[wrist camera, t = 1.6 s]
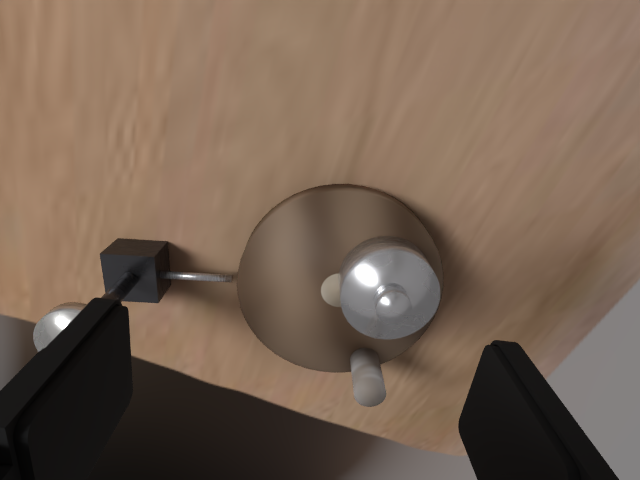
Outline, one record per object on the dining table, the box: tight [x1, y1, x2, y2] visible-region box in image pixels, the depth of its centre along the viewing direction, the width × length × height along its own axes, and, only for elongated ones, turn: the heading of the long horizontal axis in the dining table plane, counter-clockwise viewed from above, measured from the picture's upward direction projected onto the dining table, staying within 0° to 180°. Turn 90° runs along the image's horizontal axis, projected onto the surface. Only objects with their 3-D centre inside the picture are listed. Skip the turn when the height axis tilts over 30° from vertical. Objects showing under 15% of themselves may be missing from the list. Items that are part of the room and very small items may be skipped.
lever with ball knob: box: [33, 238, 233, 352], centre depth 29 cm, size 10×4×11 cm, turn 86°
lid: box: [338, 236, 440, 339], centre depth 29 cm, size 7×7×4 cm
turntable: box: [237, 184, 443, 407], centre depth 31 cm, size 16×16×6 cm
